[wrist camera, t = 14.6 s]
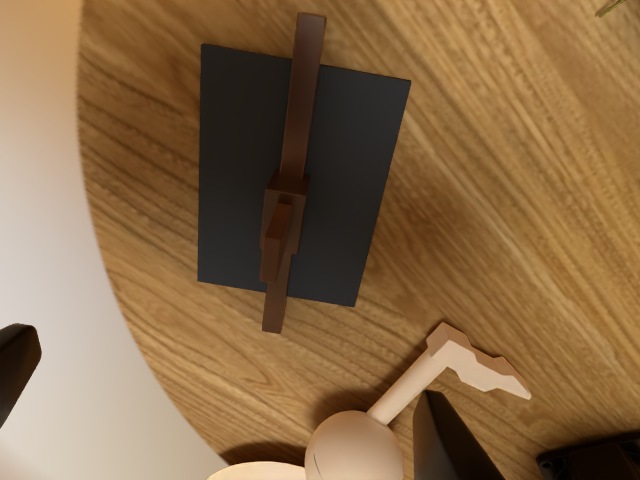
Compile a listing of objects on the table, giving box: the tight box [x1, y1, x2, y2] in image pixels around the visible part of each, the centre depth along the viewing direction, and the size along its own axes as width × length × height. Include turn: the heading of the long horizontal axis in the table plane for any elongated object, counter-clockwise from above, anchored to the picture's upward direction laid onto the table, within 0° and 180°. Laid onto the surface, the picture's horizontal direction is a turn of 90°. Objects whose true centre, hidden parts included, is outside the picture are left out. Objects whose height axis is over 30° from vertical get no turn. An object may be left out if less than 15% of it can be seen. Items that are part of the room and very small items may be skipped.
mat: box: [198, 43, 411, 307], centre depth 19 cm, size 11×8×1 cm
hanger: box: [260, 11, 327, 334], centre depth 16 cm, size 15×2×5 cm, turn 171°
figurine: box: [305, 322, 532, 480], centre depth 22 cm, size 8×6×12 cm
